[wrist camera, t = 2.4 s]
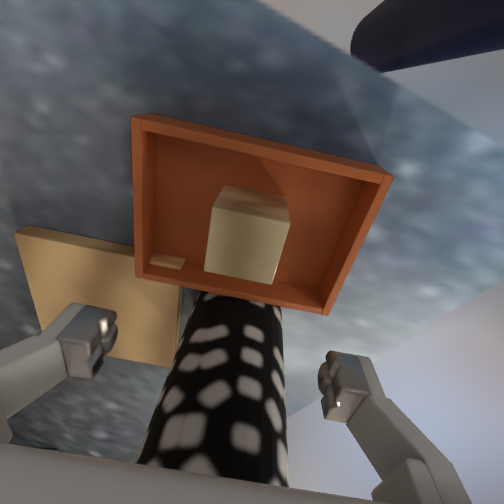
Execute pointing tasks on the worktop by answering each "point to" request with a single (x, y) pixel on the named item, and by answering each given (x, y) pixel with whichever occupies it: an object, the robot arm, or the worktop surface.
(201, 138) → the orange-brown tray
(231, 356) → the white-spotted black cylinder
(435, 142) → the worktop surface
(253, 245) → the block
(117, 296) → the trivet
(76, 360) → the robot arm
